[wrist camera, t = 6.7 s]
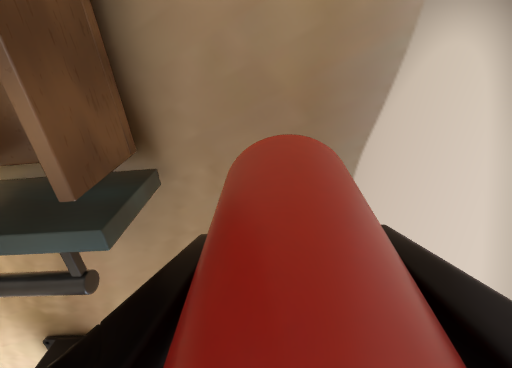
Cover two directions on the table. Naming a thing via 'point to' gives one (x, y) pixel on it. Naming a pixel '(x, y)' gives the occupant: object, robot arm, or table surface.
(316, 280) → the tin
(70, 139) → the drawer
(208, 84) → the table surface
